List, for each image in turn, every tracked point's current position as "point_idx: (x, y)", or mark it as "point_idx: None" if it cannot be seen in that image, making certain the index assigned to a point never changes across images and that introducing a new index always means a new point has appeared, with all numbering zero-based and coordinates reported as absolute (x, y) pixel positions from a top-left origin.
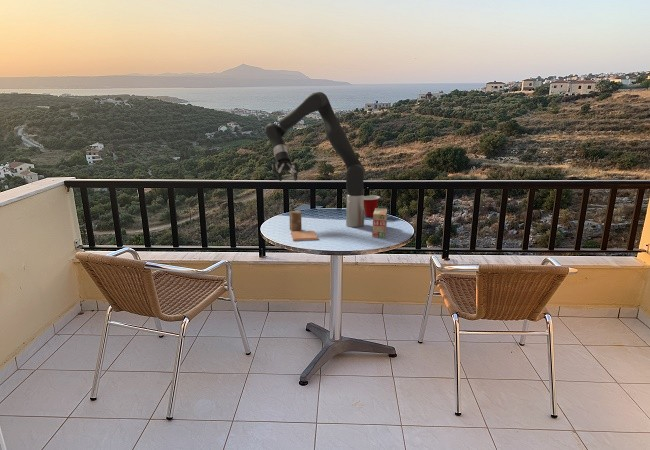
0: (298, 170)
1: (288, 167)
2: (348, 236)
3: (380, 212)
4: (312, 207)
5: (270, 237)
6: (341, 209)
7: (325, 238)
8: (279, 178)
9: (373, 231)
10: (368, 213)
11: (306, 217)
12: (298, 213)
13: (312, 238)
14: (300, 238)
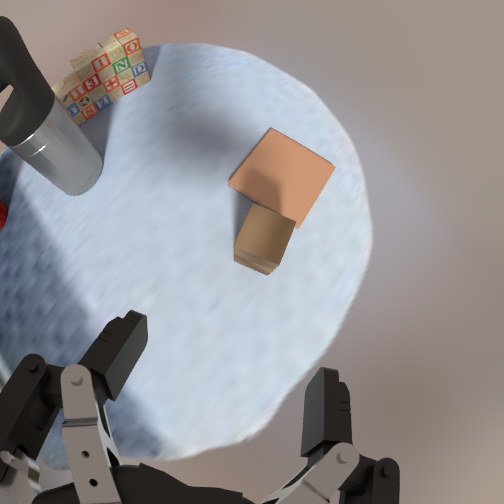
0: (30, 363)
1: (132, 492)
2: (183, 107)
3: (116, 38)
4: None
5: (368, 243)
6: None
7: (244, 128)
8: (345, 384)
9: (146, 69)
10: (1, 207)
11: None
12: (265, 210)
13: (285, 137)
14: (316, 155)
